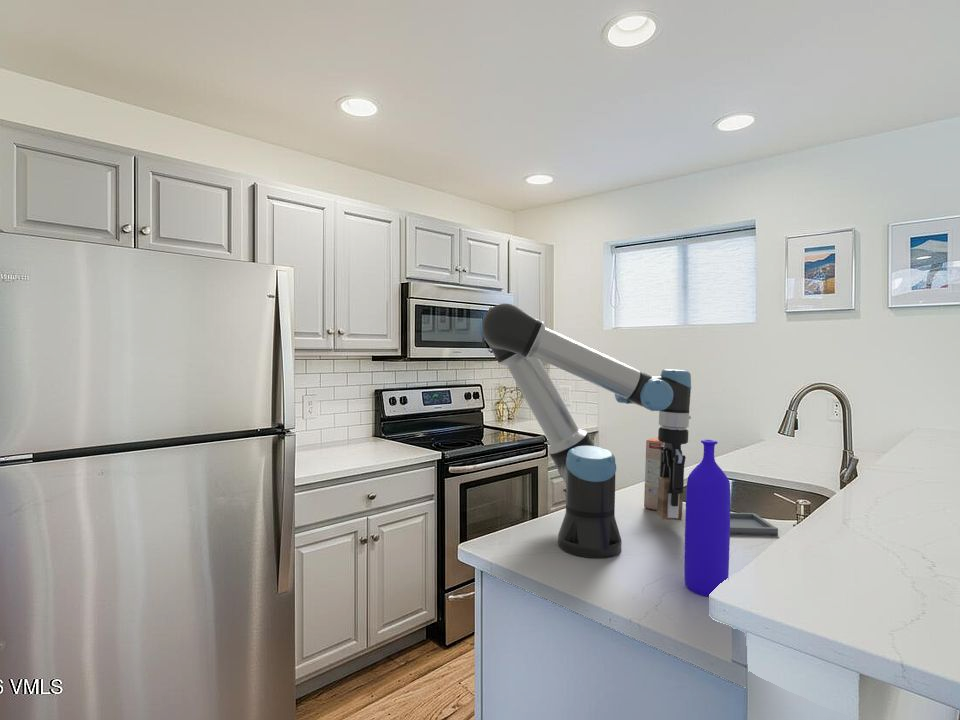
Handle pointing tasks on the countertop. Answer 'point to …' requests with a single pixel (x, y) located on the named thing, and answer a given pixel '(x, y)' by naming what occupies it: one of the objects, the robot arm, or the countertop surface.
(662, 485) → the walnut block
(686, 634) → the countertop surface
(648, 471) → the cracker box
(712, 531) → the bottle
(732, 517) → the slate tray
